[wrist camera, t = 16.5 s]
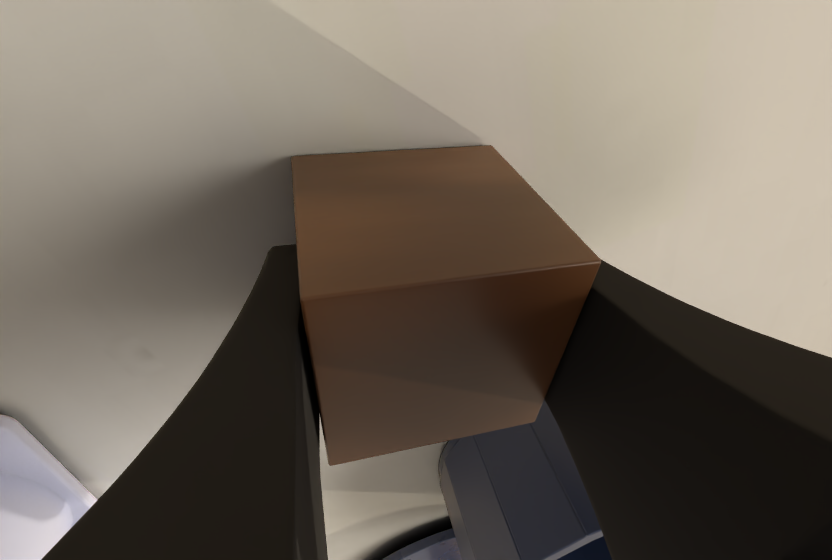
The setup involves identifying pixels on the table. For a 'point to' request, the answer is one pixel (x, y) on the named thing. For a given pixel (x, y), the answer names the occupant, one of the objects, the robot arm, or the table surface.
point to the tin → (519, 496)
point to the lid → (430, 548)
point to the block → (430, 295)
